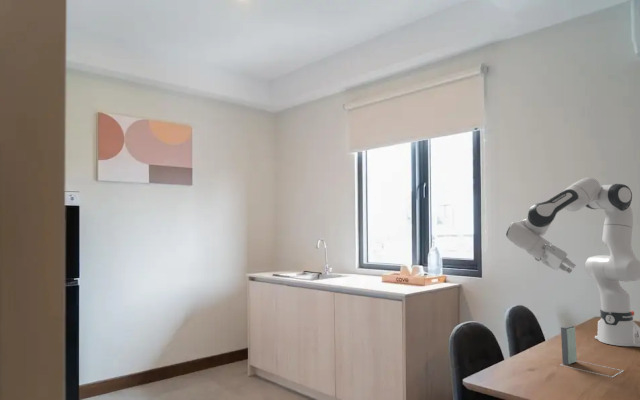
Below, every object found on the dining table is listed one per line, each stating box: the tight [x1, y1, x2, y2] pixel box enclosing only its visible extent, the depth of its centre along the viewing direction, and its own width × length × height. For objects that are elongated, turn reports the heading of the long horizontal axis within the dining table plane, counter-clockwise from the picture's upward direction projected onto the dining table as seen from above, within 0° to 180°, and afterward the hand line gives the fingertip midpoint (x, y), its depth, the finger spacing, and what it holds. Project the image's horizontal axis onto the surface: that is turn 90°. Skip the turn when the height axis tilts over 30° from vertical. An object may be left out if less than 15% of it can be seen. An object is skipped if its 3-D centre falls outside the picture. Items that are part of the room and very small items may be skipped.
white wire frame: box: [559, 360, 624, 379], centre depth 165 cm, size 11×1×18 cm
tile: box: [560, 324, 578, 366], centre depth 172 cm, size 6×2×14 cm, turn 123°
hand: (572, 269), depth 181 cm, fingers open, 8 cm apart
